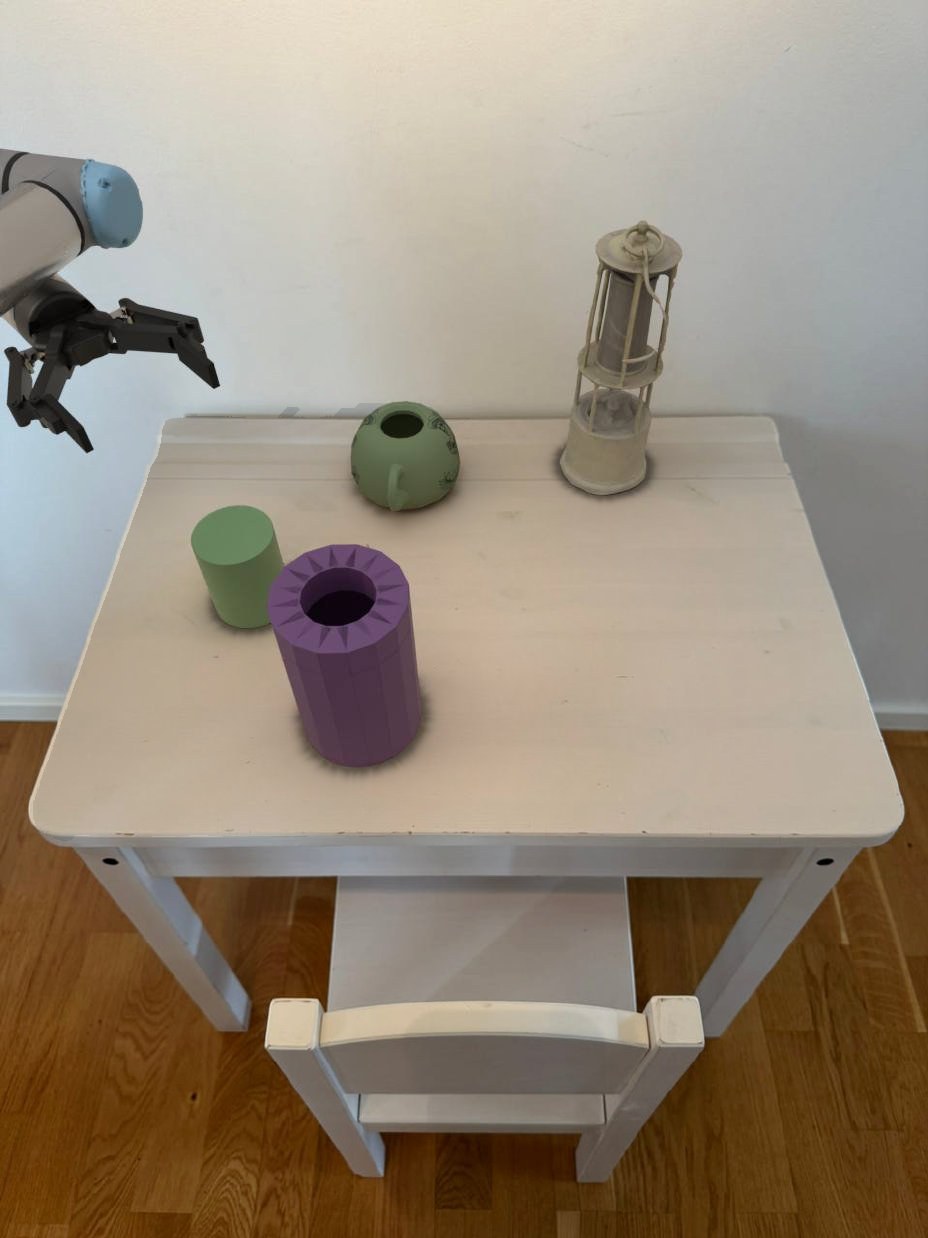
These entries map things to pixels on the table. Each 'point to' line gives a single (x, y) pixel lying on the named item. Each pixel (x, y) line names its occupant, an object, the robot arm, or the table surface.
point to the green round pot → (404, 456)
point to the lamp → (619, 362)
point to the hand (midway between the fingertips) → (151, 407)
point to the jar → (349, 651)
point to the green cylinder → (238, 562)
